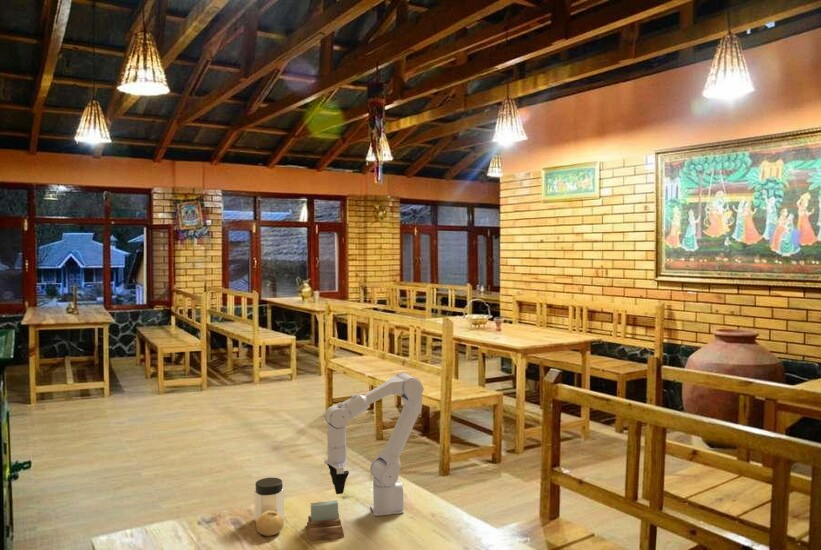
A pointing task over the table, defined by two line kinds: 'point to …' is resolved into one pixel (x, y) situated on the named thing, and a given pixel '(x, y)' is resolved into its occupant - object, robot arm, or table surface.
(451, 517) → the table surface
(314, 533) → the rack
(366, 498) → the table surface
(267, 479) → the jar
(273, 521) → the onion
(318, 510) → the pale green prism
